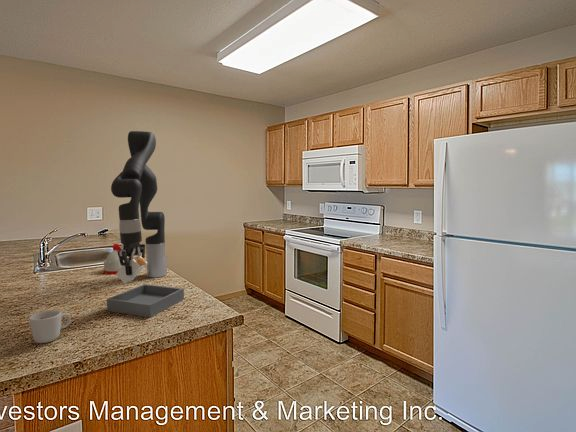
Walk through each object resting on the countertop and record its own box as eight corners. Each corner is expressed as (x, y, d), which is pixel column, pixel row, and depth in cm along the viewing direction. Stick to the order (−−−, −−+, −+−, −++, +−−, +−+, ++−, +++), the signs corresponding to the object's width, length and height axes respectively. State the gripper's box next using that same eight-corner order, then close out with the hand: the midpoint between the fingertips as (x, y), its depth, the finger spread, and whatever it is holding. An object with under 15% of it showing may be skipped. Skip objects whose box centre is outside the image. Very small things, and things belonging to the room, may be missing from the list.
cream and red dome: (123, 266, 195) (122, 240, 194) (137, 270, 187) (136, 243, 186) (98, 271, 184) (97, 244, 182) (111, 275, 176) (110, 247, 174)
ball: (140, 257, 134) (146, 256, 133) (142, 265, 134) (148, 264, 133) (133, 258, 131) (139, 257, 130) (134, 267, 131) (141, 266, 130)
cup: (65, 328, 113) (64, 305, 112) (76, 335, 108) (75, 310, 107) (26, 341, 104) (24, 316, 103) (37, 348, 99) (35, 322, 98)
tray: (144, 294, 147) (144, 284, 147) (184, 299, 141) (183, 288, 141) (107, 310, 128) (106, 299, 128) (150, 317, 122) (150, 305, 122)
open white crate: (115, 274, 132) (130, 257, 130) (124, 270, 137) (138, 253, 135) (124, 283, 132) (139, 266, 130) (133, 279, 137) (147, 263, 135)
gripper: (127, 234, 124) (130, 279, 126) (150, 227, 138) (153, 268, 140) (109, 233, 125) (113, 278, 127) (133, 227, 139) (136, 267, 141)
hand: (134, 272), depth 134 cm, fingers closed on open white crate, 5 cm apart
